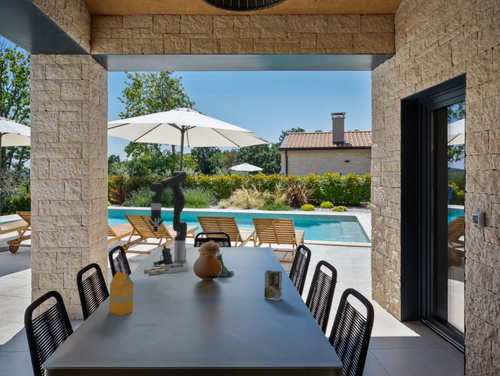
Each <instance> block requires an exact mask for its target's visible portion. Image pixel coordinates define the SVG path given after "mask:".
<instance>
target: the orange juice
mask: <svg viewBox="0 0 500 376" xmlns="http://www.w3.org/2000/svg"><path fill="white" fill-rule="evenodd" d="M133 306H134V282H133V281H132V278H130V276H129V274H128V273H124V272H121V271H120V272H119V271H116V273H115V274H114V275H113V278H112V280H111V281H110V283H109V307H108V308H109V311H108V312H109V313H111V314H114V315H118V316H123V315H126V314H130V313H132V312H133V308H134V307H133Z"/></svg>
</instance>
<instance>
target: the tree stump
mask: <svg viewBox="0 0 500 376" xmlns="http://www.w3.org/2000/svg"><path fill="white" fill-rule="evenodd" d="M217 254H218V255H217V256H216V257H217V259H218V260H219V261H220V263H221V265H222V270H221V273H220V274H219V276H218V277H217V278H230V277H233V276H235V272H234V271H233V270H231V271H230V270H229V269H228V268H227V267H226V265H224V261H223V253H217Z"/></svg>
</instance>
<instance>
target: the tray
mask: <svg viewBox="0 0 500 376" xmlns="http://www.w3.org/2000/svg"><path fill="white" fill-rule="evenodd" d="M175 264H181V263H179V262H178V263H175ZM171 265H172V264H168V265H165V264H161V265H160V267H163V269H168V272H167V274H173V273H179V272H185V271H188V266H187V265H185V264H183V267H178V268H171Z"/></svg>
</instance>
